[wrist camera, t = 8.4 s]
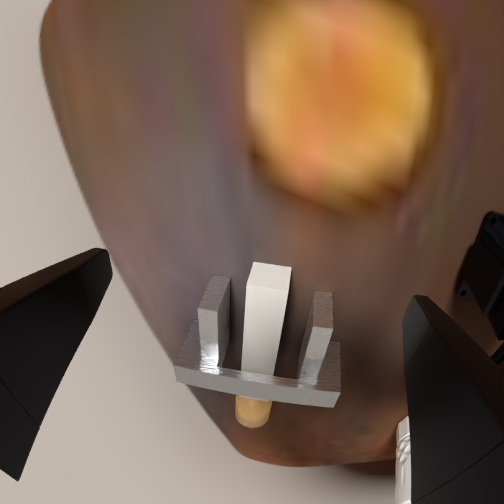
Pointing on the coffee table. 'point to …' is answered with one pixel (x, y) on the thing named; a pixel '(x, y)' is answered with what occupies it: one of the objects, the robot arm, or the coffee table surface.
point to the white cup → (403, 463)
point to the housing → (252, 384)
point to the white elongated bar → (262, 334)
